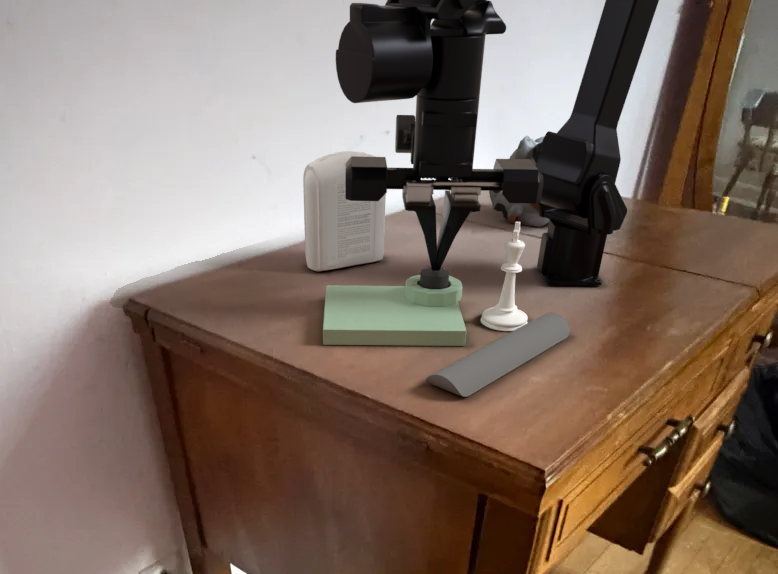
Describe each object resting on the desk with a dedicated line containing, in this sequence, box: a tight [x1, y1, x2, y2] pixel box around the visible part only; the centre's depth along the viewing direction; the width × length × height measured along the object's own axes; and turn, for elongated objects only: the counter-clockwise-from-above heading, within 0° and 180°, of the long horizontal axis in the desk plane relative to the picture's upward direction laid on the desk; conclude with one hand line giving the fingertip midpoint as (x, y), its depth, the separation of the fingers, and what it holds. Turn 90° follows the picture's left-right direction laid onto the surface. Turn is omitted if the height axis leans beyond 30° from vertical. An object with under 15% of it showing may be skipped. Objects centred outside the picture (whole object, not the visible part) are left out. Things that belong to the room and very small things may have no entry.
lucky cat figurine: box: [488, 135, 549, 228], centre depth 102 cm, size 15×12×14 cm
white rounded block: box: [302, 150, 387, 272], centre depth 85 cm, size 10×4×12 cm, turn 123°
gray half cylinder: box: [425, 311, 571, 398], centre depth 68 cm, size 4×20×2 cm, turn 139°
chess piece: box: [480, 221, 529, 332], centre depth 73 cm, size 5×5×10 cm
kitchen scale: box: [322, 274, 467, 347], centre depth 74 cm, size 14×12×3 cm
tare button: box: [419, 266, 450, 289], centre depth 76 cm, size 3×3×2 cm
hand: (435, 269), depth 75 cm, fingers closed
